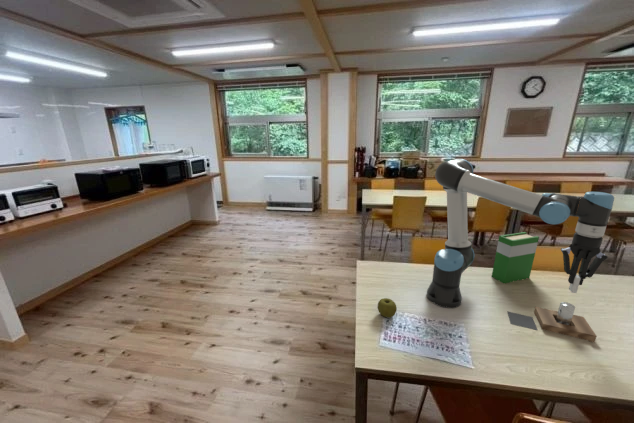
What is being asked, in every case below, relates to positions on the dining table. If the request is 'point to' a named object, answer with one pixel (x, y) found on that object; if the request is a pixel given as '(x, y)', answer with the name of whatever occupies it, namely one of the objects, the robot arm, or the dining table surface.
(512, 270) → the hardback book
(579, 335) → the jig
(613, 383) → the dining table surface
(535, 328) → the pad
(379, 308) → the apple
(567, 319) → the brushed steel cylinder
